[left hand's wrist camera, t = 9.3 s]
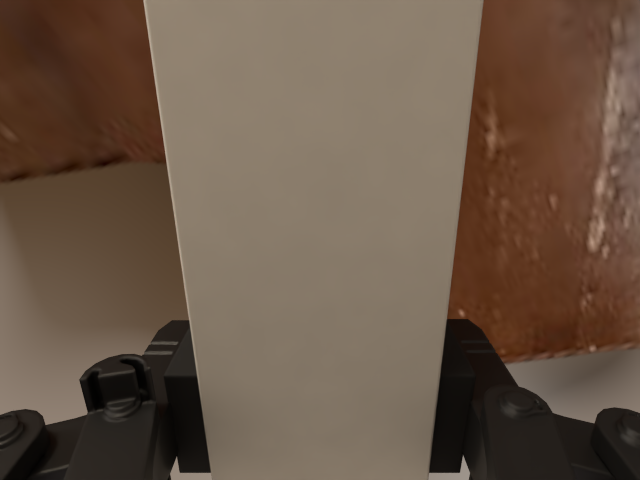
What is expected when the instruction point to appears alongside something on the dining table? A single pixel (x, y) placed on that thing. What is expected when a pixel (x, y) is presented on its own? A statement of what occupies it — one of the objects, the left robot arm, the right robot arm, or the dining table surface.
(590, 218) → the dining table surface
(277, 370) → the post
